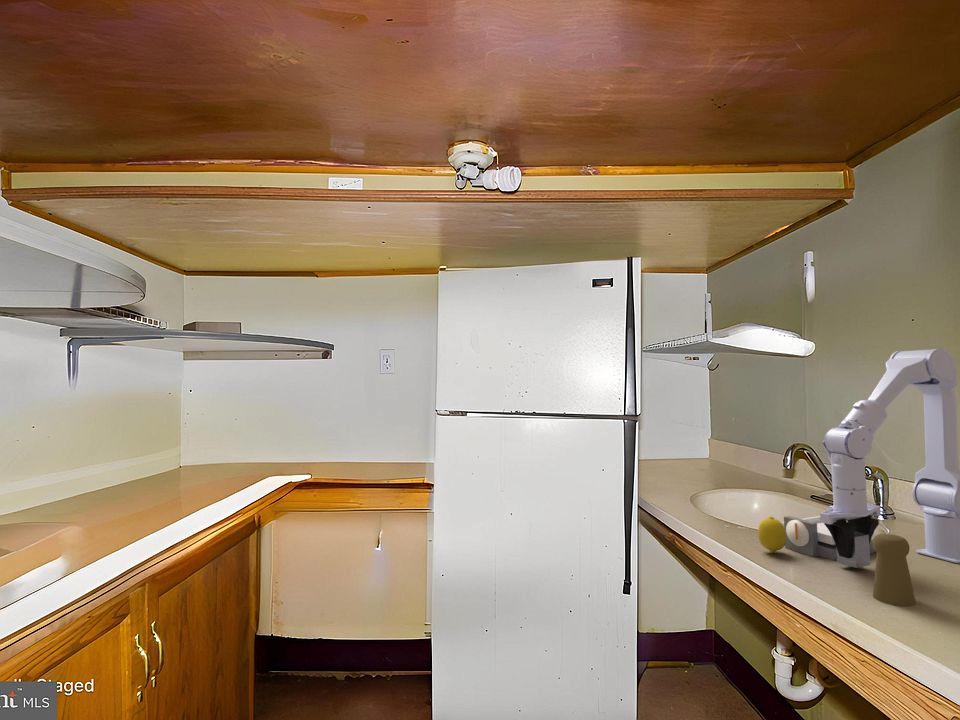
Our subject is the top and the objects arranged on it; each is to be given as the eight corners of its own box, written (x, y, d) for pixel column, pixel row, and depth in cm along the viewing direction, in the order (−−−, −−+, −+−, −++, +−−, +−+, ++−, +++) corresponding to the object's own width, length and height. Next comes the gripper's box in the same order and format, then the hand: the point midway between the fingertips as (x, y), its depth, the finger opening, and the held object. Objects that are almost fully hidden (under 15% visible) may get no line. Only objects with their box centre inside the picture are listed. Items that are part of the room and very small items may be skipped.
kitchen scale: (821, 534, 134) (819, 505, 134) (879, 551, 121) (878, 518, 121) (770, 543, 129) (769, 513, 129) (826, 561, 115) (824, 528, 116)
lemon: (771, 547, 126) (769, 512, 126) (793, 554, 121) (791, 517, 121) (753, 551, 124) (751, 515, 124) (774, 558, 119) (772, 521, 119)
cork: (874, 589, 100) (870, 528, 101) (916, 597, 97) (912, 533, 97) (871, 600, 96) (867, 537, 96) (915, 609, 92) (911, 542, 92)
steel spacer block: (851, 559, 114) (849, 529, 114) (870, 564, 110) (868, 534, 110) (837, 561, 112) (835, 532, 113) (856, 568, 109) (854, 537, 109)
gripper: (855, 480, 118) (858, 544, 117) (805, 487, 113) (808, 554, 112) (889, 486, 111) (893, 554, 111) (837, 494, 106) (841, 565, 106)
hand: (853, 555), depth 111 cm, fingers closed on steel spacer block, 4 cm apart
